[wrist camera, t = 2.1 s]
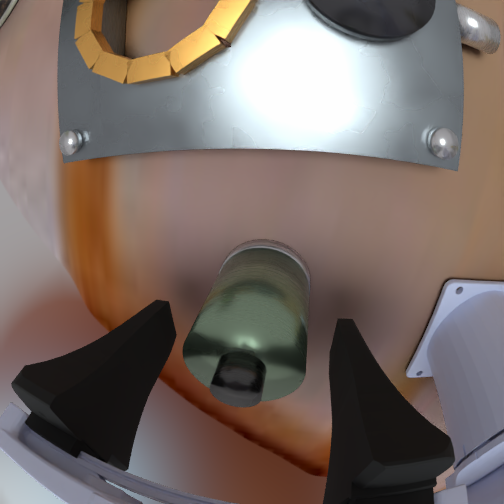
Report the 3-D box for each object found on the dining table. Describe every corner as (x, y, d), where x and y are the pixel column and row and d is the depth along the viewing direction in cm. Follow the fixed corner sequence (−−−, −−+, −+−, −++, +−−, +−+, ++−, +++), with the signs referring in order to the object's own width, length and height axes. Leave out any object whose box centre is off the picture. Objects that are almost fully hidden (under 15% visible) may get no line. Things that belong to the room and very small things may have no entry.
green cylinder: (314, 242, 14) (314, 357, 7) (305, 317, 16) (296, 430, 10) (219, 236, 14) (156, 335, 8) (224, 309, 17) (183, 412, 10)
